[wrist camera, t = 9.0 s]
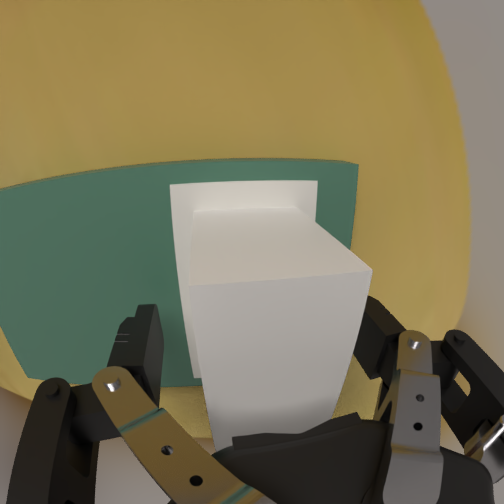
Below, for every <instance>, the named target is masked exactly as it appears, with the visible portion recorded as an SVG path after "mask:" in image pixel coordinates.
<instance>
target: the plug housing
mask: <svg viewBox="0 0 504 504" xmlns="http://www.w3.org/2000/svg"><path fill="white" fill-rule="evenodd" d="M372 272H373V270H372V269H371V268H370V267H369V266H368V265H366V264H365V263H364V262H363V261H362V260H361V259H359V258H358V257H357V256H356V255H355V254H354V253H352V252H351V251H350V250H349V249H348V248H346V247H345V246H344V245H343V244H342V243H340V242H339V241H338V240H337V239H336V238H334V237H333V236H332V235H331V234H329V233H328V232H327V231H326V230H325V229H323V228H322V227H321V226H320V225H318V224H317V223H316V222H315V221H313V220H312V219H311V218H310V217H308V216H307V215H306V214H305V213H303V212H302V211H301V210H299V209H298V208H297V207H277V208H247V209H224V210H205V211H194V215H193V227H192V240H191V254H190V270H189V293H190V302H191V310H192V318H193V325H194V333H195V340H196V347H197V353H198V360H199V366H200V372H201V378H202V384H203V390H204V395H205V401H206V406H207V411H208V417H209V422H210V427H211V431H212V436H213V441H214V445H215V450H216V452H217V451H219V450H221V449H223V448H226V447H229V446H232V437H235V436H244V435H252V434H259V433H289V434H298V433H303V432H305V431H307V430H309V429H311V428H313V427H316V426H318V425H320V424H322V423H324V422H326V421H327V420H330V419H331V417H332V415H333V412H334V409H335V406H336V404H337V401H338V398H339V395H340V392H341V389H342V386H343V383H344V380H345V377H346V374H347V371H348V368H349V364H350V361H351V358H352V354H353V351H354V347H355V344H356V340H357V336H358V333H359V329H360V325H361V321H362V317H363V313H364V309H365V305H366V300H367V296H368V291H369V287H370V282H371V277H372Z"/></svg>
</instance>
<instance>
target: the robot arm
mask: <svg viewBox="0 0 504 504" xmlns="http://www.w3.org/2000/svg"><path fill="white" fill-rule="evenodd" d="M163 354H164V337H163V331H162V327H161V322H160V317H159V312H158V307H157V305H156V304H140V305H138V307H137V310H136V313H135V317H127V318H126V319H125V320H124V321H123V322H122V323H121V324H120V326H119V329H118V332H117V335H116V338H115V342H114V344H113V347H112V350H111V354H110V357H109V360H108V364H107V367H106V368H104V369H102V370H100V371H99V372H98V373H96V375H95V376H94V378H93V380H92V382H91V383H88V384H84V385H79V386H74V387H70V385H69V383H68V382H67V381H66V380H64V379H62V378H58V377H54V378H50V379H47V380H45V381H44V382H42V383H41V384H40V385H39V387H38V388H37V391H36V393H35V396H34V399H33V401H32V404H31V407H30V410H29V413H28V416H27V419H26V422H25V425H24V428H23V432H22V435H21V438H20V442H19V445H18V449H17V453H16V457H15V461H14V465H13V469H12V474H11V479H10V484H9V489H8V496H7V502H6V504H95V484H96V471H97V460H98V451H99V443H100V441H101V440H107V439H111V438H116V437H122V438H123V439H124V441H125V443H126V444H127V445H128V447H129V448H130V450H131V451H132V452H133V454H134V455H135V457H136V458H137V459H138V461H139V462H140V463H141V464H142V466H143V467H144V468H145V470H146V471H147V472H148V473H149V475H150V476H151V477H152V478H153V479H154V481H155V482H156V483H157V484H158V485H159V487H160V488H161V489H162V490H163V491H164V492H165V493H166V495H167V496H168V497H169V498H170V499H171V500H170V502H169V503H168V504H495V503H494V495H493V484H494V483H496V482H498V481H499V480H501V479H502V478H503V477H504V372H503V371H502V370H501V369H500V368H499V367H498V366H497V364H496V363H495V362H494V361H493V360H492V359H491V358H490V357H489V356H488V355H487V354H486V353H485V352H484V351H483V350H482V349H481V348H480V347H479V346H478V345H477V344H476V342H475V341H474V340H472V338H470V336H468V335H467V334H466V333H464V332H462V331H460V330H449V331H448V332H447V333H446V334H445V337H444V339H443V340H442V341H430V340H429V338H428V337H427V336H426V335H425V334H423V333H421V332H419V331H415V330H406V329H405V328H404V327H403V326H402V325H401V324H400V323H399V321H398V320H397V319H396V318H395V317H394V316H393V315H392V314H390V312H389V311H388V310H387V309H385V307H384V306H383V305H382V304H381V303H380V302H379V301H378V300H376V299H375V298H373V297H371V296H367V300H366V305H365V309H364V313H363V317H362V321H361V325H360V329H359V333H358V336H357V340H356V344H355V347H354V351H353V354H354V356H355V357H356V359H357V360H358V362H359V363H360V365H361V366H362V368H363V369H364V371H365V373H366V374H367V376H368V377H369V379H370V380H371V379H375V378H378V377H381V378H382V381H381V384H380V387H379V393H378V398H377V403H376V408H375V413H374V417H373V420H365V419H363V420H361V419H360V417H359V415H358V413H357V412H355V413H351V414H348V415H344V416H341V417H337V418H333V419H330V420H327V421H326V422H324V423H322V424H320V425H318V426H316V427H313V428H311V429H309V430H307V431H305V432H303V433H298V434H289V433H259V434H252V435H244V436H235V437H232V446H229V447H226V448H223V449H221V450H219V451H217V452H215V453H214V454H212V455H210V454H209V453H208V452H207V451H206V450H204V448H202V447H201V446H200V445H199V444H198V443H197V442H196V441H195V440H194V439H193V438H192V437H191V436H190V435H189V434H188V433H187V432H186V431H185V430H184V429H183V428H182V427H181V426H180V425H179V424H178V423H177V421H176V420H175V419H174V418H173V417H172V416H171V415H170V414H169V413H168V412H167V411H166V410H165V409H164V408H160V409H159V400H160V387H161V375H162V364H163ZM459 371H460V373H461V374H462V375H463V376H464V377H465V378H466V380H467V381H468V382H469V384H470V388H471V390H470V394H469V395H468V397H467V395H466V394H465V393H464V392H463V390H462V389H461V388H460V386H459V385H458V384H457V383H456V381H455V380H454V379H455V377H456V375H457V374H458V372H459ZM441 415H442V416H443V418H444V419H445V420H446V422H447V423H448V425H449V427H450V428H451V430H452V431H453V432H454V434H455V436H456V437H457V439H458V440H459V442H460V444H461V445H462V447H463V448H464V454H465V455H462V454H459V453H457V452H454V451H452V450H449V449H446V448H444V447H441V446H440V427H441Z"/></svg>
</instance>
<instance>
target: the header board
mask: <svg viewBox="0 0 504 504" xmlns="http://www.w3.org/2000/svg"><path fill="white" fill-rule="evenodd" d="M358 166H359V164H354V163H350V162H346V161H337V160H319V159H292V158H231V159H204V160H186V161H172V162H159V163H148V164H138V165H129V166H121V167H113V168H105V169H98V170H91V171H85V172H79V173H73V174H67V175H61V176H56V177H51V178H46V179H41V180H36V181H31V182H27V183H22V184H18V185H14V186H10V187H6V188H2V189H0V326H1V328H2V330H3V332H4V334H5V337H6V339H7V341H8V343H9V345H10V347H11V349H12V350H13V352H14V354H15V356H16V358H17V360H18V362H19V363H20V365H21V367H22V369H23V370H24V372H25V374H26V375H27V377H28V378H33V379H40V380H47V379H50V378H54V377H58V378H62V379H64V380H66V381H67V382H68V383H72V384H83V385H84V384H88V383H91V382H92V380H93V378H94V376H95V375H96V373H98V372H99V371H100V370H102V369H104V368H106V367H107V364H108V360H109V357H110V354H111V350H112V347H113V344H114V342H115V338H116V335H117V332H118V329H119V326H120V324H121V323H122V322H123V321H124V320H125V319H126V318H127V317H135V313H136V310H137V307H138V305H140V304H156V305H157V307H158V312H159V317H160V322H161V327H162V331H163V337H164V354H163V364H162V375H161V387H182V386H202V385H203V384H202V378H201V372H200V366H199V360H198V353H197V347H196V340H195V333H194V325H193V318H192V310H191V302H190V293H189V270H190V254H191V240H192V227H193V215H194V211H205V210H224V209H247V208H277V207H297V208H298V209H299V210H301V211H302V212H303V213H305V214H306V215H307V216H308V217H310V218H311V219H312V220H313V221H315V222H316V223H317V224H318V225H320V226H321V227H322V228H323V229H325V230H326V231H327V232H328V233H329V234H331V235H332V236H333V237H334V238H336V239H337V240H338V241H339V242H340V243H342V244H343V245H344V246H345V247H346V248H348V249H349V250H350V246H351V239H352V231H353V222H354V213H355V203H356V192H357V180H358Z"/></svg>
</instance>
